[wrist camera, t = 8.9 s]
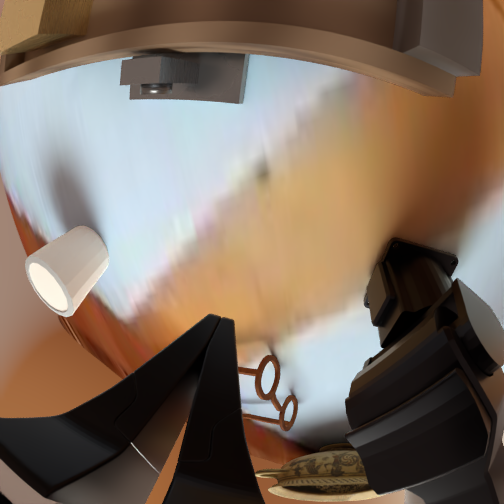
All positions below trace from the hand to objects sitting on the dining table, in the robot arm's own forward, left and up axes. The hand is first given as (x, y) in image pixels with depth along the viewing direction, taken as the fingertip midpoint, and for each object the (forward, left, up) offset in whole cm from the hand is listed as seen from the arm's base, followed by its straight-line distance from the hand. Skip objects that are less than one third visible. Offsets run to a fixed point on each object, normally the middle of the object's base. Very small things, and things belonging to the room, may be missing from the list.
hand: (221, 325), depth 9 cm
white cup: (+18, +9, -12) cm, 24 cm away
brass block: (+15, -14, -7) cm, 22 cm away
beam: (+7, -14, -8) cm, 18 cm away
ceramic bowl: (-21, +43, -12) cm, 49 cm away
